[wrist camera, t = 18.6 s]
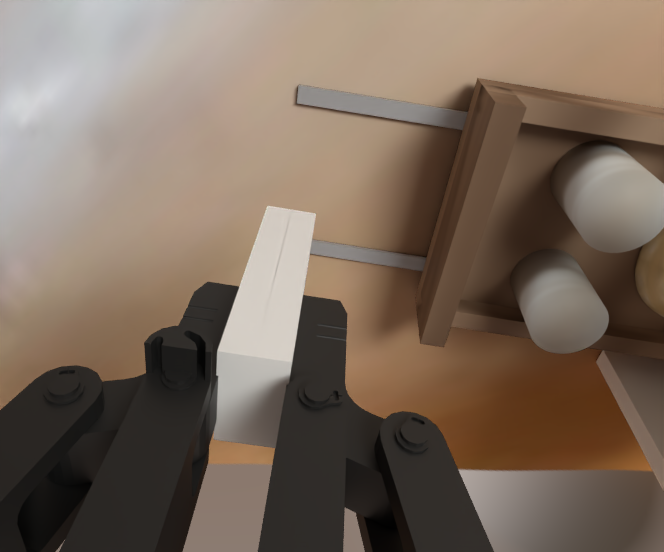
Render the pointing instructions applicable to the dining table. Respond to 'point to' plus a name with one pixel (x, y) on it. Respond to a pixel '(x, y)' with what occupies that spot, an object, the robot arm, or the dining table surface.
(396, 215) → the dining table surface
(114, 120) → the dining table surface
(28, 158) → the dining table surface
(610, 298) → the tray
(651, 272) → the hand bell
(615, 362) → the white upright box
